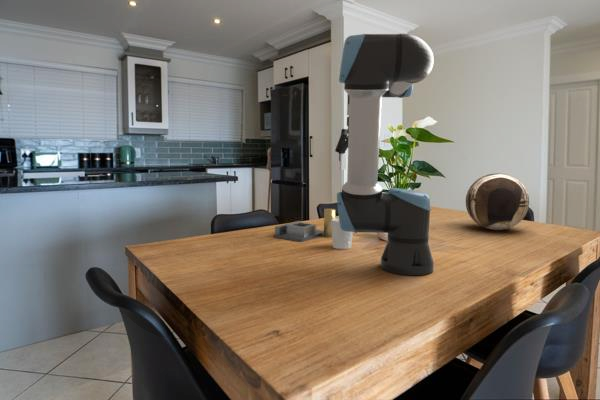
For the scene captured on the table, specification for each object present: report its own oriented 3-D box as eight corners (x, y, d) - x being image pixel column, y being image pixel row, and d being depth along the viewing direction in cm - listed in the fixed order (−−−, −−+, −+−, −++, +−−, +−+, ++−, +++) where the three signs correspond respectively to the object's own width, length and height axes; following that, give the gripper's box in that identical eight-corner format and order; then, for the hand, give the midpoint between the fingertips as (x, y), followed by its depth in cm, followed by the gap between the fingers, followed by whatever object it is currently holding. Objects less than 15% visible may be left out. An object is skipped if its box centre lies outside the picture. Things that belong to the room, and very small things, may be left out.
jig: (302, 241, 148) (302, 229, 148) (273, 237, 156) (273, 225, 156) (327, 234, 163) (327, 222, 162) (299, 229, 171) (299, 219, 170)
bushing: (331, 237, 156) (331, 210, 154) (321, 236, 158) (322, 209, 157) (337, 235, 159) (337, 209, 158) (327, 234, 162) (328, 208, 161)
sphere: (467, 233, 166) (470, 174, 163) (461, 223, 190) (464, 171, 187) (533, 237, 159) (538, 175, 156) (519, 226, 183) (523, 172, 180)
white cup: (327, 248, 139) (327, 220, 138) (335, 243, 146) (336, 217, 145) (348, 250, 136) (348, 222, 134) (356, 246, 142) (356, 219, 141)
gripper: (389, 115, 144) (387, 172, 147) (340, 117, 163) (339, 168, 166) (376, 114, 139) (374, 173, 143) (327, 116, 158) (326, 169, 161)
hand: (355, 171), depth 154 cm, fingers open, 13 cm apart
